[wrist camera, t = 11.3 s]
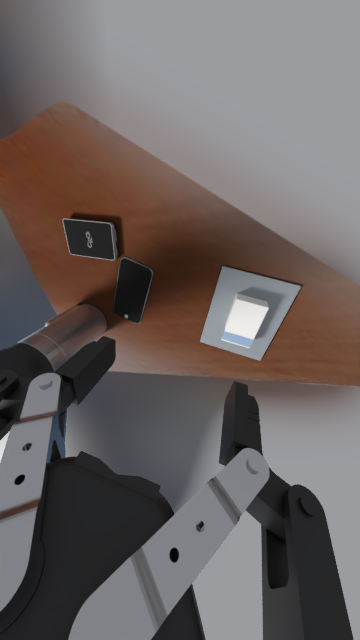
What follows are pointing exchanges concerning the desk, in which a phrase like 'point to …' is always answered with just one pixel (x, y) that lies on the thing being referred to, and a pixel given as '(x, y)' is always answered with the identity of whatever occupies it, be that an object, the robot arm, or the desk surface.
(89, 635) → the robot arm
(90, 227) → the external hard drive
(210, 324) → the mat
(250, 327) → the card box
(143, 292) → the smartphone
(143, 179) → the desk surface
